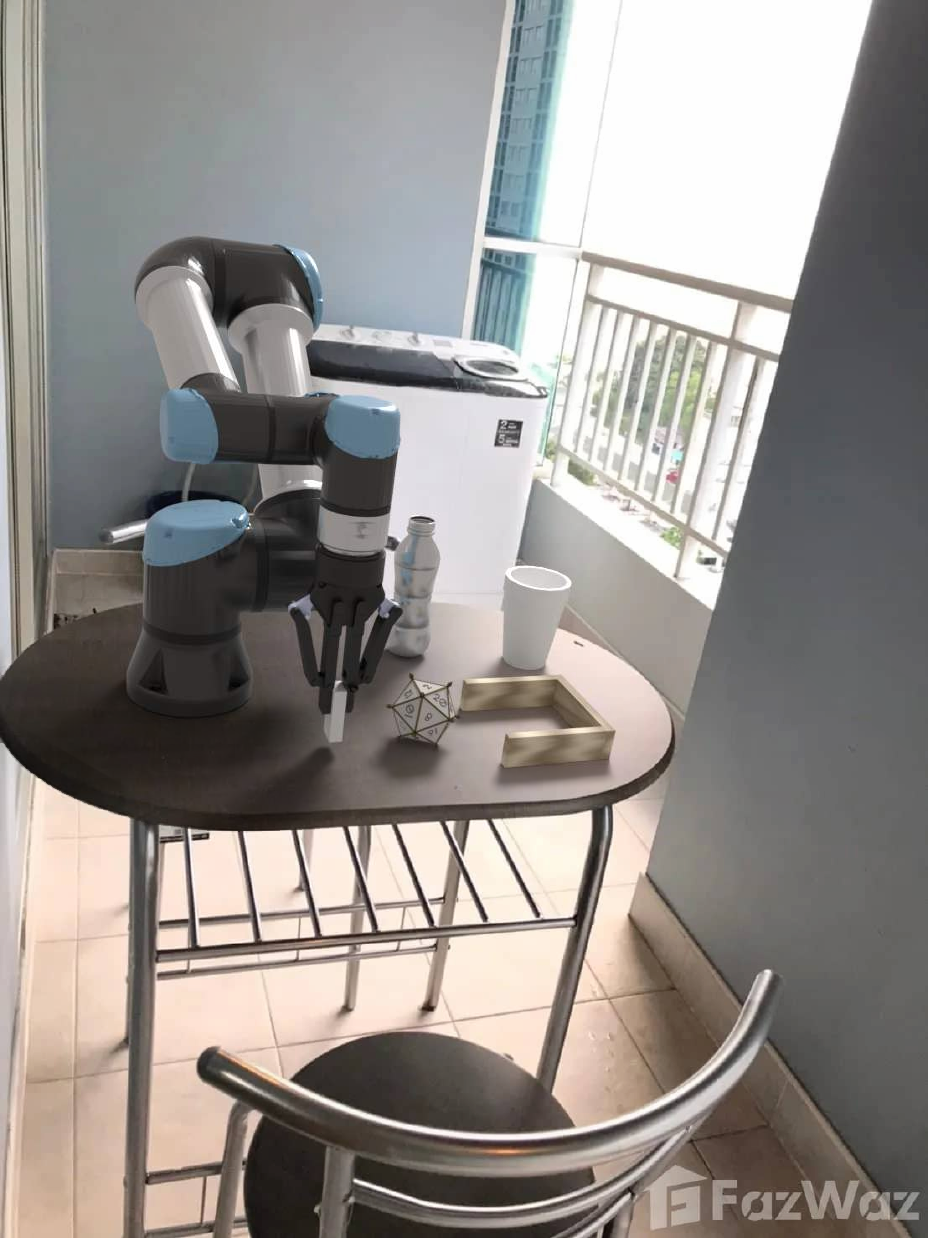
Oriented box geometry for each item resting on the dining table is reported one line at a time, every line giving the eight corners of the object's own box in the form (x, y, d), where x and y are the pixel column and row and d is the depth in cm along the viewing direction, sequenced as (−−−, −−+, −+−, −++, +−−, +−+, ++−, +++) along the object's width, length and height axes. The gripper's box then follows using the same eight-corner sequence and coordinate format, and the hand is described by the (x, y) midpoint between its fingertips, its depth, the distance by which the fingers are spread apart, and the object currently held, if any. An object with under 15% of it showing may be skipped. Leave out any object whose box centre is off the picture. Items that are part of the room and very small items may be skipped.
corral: (504, 767, 118) (509, 738, 117) (459, 706, 131) (463, 679, 130) (609, 758, 124) (615, 730, 122) (556, 701, 136) (561, 674, 135)
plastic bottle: (437, 653, 145) (455, 521, 138) (410, 667, 140) (428, 530, 132) (401, 638, 148) (417, 508, 141) (373, 651, 143) (388, 517, 135)
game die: (428, 762, 124) (484, 704, 123) (415, 773, 116) (475, 710, 115) (377, 712, 125) (431, 653, 124) (360, 719, 117) (419, 656, 116)
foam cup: (551, 680, 142) (567, 595, 137) (487, 666, 144) (501, 582, 139) (558, 654, 151) (574, 573, 146) (498, 641, 152) (511, 561, 147)
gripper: (299, 556, 102) (283, 757, 111) (420, 557, 107) (395, 748, 116) (284, 532, 109) (270, 723, 118) (398, 533, 114) (377, 717, 123)
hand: (332, 735), depth 117 cm, fingers closed
